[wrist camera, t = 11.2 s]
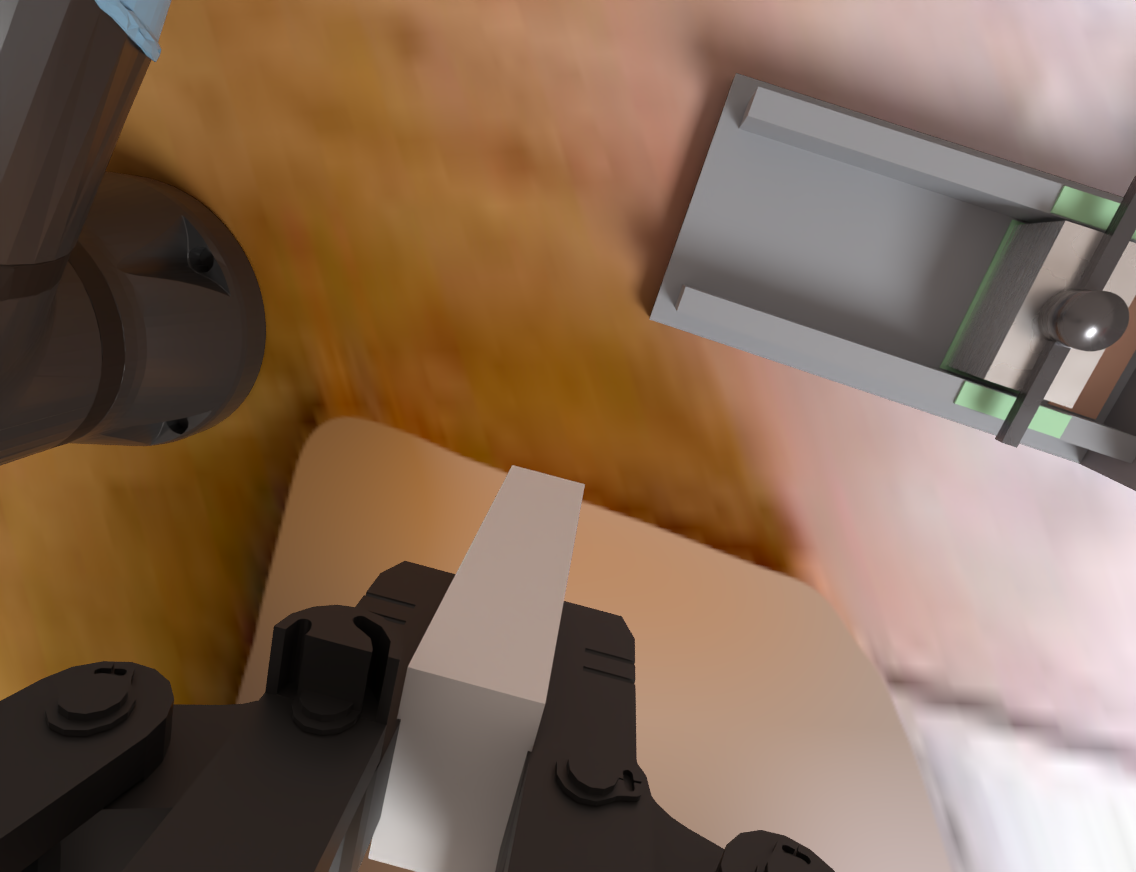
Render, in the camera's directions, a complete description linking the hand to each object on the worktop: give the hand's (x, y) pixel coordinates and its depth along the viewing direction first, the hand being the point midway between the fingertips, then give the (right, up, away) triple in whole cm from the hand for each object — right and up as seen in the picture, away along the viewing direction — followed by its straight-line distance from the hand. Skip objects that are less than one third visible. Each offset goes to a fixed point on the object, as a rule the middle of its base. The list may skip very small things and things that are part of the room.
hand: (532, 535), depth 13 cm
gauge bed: (+19, +10, +20) cm, 29 cm away
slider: (+23, +8, +19) cm, 30 cm away
